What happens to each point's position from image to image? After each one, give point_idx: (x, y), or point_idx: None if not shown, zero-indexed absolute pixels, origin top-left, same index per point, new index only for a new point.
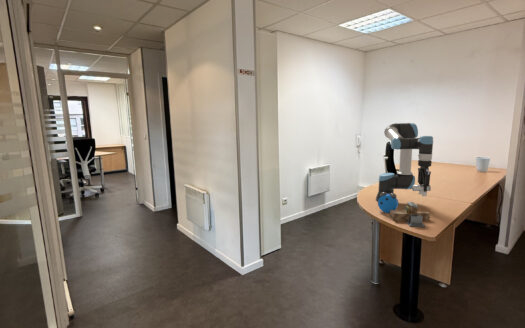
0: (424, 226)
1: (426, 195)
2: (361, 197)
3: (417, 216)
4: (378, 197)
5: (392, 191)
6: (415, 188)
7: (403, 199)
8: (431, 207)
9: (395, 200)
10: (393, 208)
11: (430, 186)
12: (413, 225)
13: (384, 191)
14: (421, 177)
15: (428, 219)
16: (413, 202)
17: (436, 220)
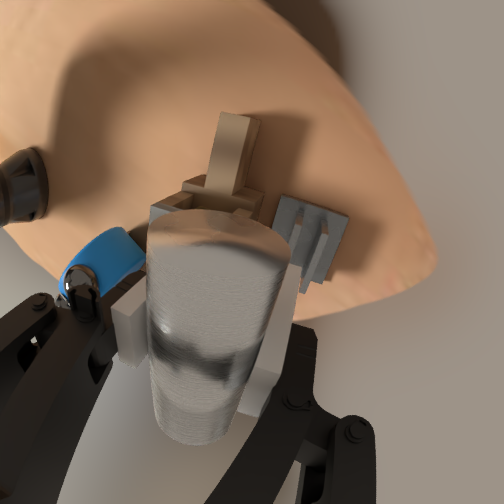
0: (347, 220)
1: (300, 274)
2: (22, 248)
3: (313, 260)
4: (26, 221)
5: (3, 179)
6: (230, 422)
7: (25, 108)
8: (101, 26)
9: (108, 273)
10: (140, 263)
11: (256, 277)
12: (327, 270)
13: (7, 216)
14: (61, 468)
15: (258, 125)
16: (157, 209)
17: (268, 83)
